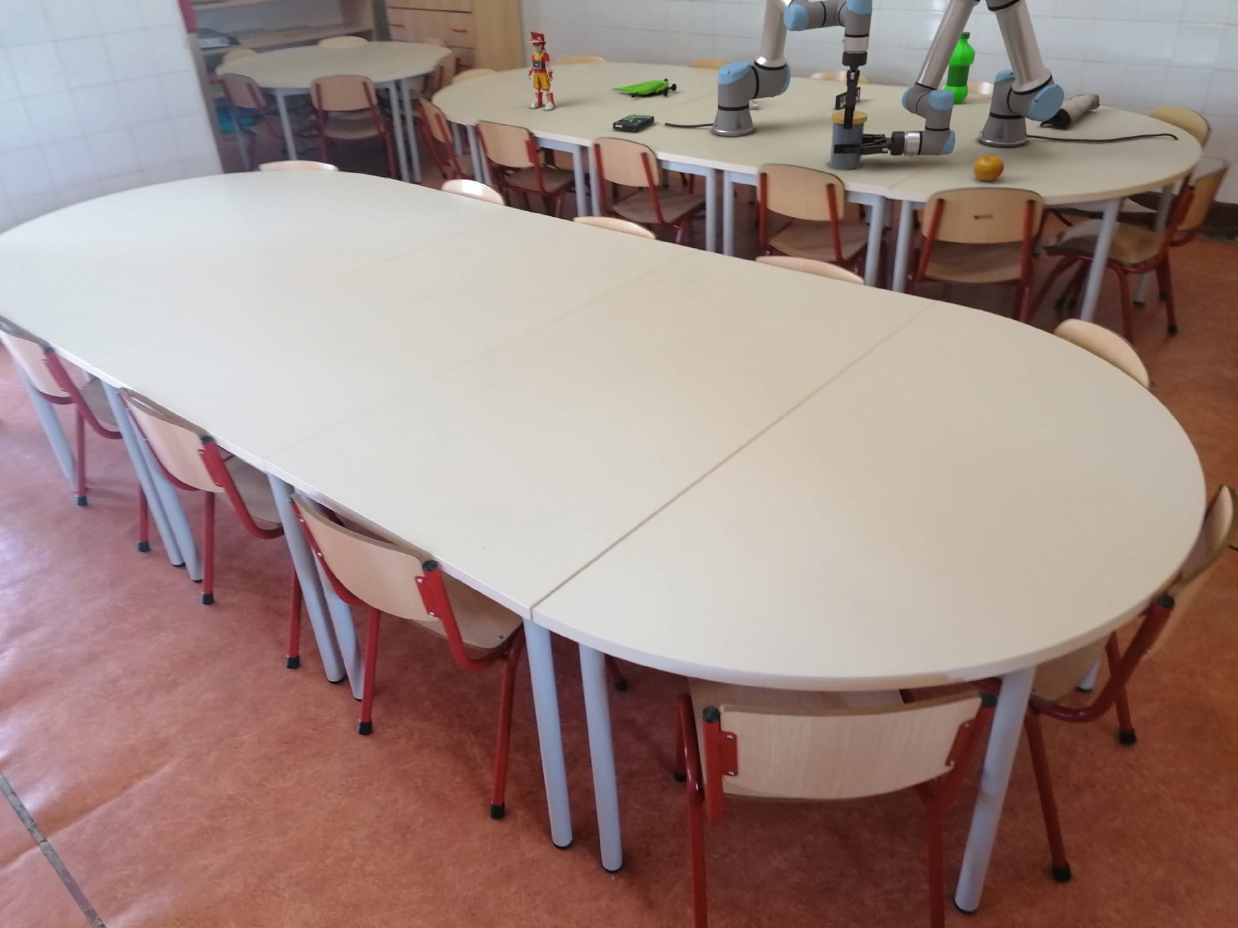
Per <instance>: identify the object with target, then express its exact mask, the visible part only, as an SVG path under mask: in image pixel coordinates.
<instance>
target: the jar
mask: <svg viewBox="0 0 1238 928" xmlns="http://www.w3.org/2000/svg"><path fill="white" fill-rule="evenodd" d="M865 123H866V122H864V123H861V124H854V125H852V129H843V125H844V124H837V123H834V122H832V133H831V145H830V157H829V166H830V167H831V168H834V169H837V170H853V169H854V170H855V169H857V168H859V167H861V161H862V155H860V156H858V155H857V154H855V153H835V154H834V144H855V147H856V143H858V144H859V145H861V144H862V142H863V133H865Z"/></svg>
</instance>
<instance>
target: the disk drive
mask: <svg viewBox="0 0 1238 928" xmlns="http://www.w3.org/2000/svg"><path fill="white" fill-rule="evenodd" d="M654 123H655V116H654V115H647V114H646V115H645V114H629V115H627V116H625V117H623V118H621V119H618V120H617V121H614V122H612V130H616V131H623V132H633V133H635V132H637V131H640V130H643V129H645V128H646V127H649V126H650V125H651V126H652V125H653V124H654Z"/></svg>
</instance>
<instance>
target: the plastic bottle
mask: <svg viewBox="0 0 1238 928" xmlns="http://www.w3.org/2000/svg"><path fill="white" fill-rule="evenodd" d="M970 36H971V32H970V31H963V33H962V35H961V37H960V39H959V42H958V44H957V46H956V48H955V51H954V53H953V55H952V57H951V60H950V62H949V64H948V69H947V70H948V71H947V76H946V77H947V78H946V84H945V85H944V87H943V89H942V90H949V91H952V92H953V94H954V100H953V104H960V103H961V102H963V101H964V100H966V98H967V96H968V95H969V85H968V79H969V73H970V67H971V65H972V64H973V63H974V61H975V57H976V51H975V49H974V47H972V45H971V44H970V43H969V42H968V41H969V39H970V38H971V37H970Z"/></svg>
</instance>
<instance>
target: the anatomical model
mask: <svg viewBox="0 0 1238 928" xmlns="http://www.w3.org/2000/svg"><path fill="white" fill-rule="evenodd" d="M754 101H755V99H753V100H749V109H758V108H759V107H760V105H759V104H758V103H754Z"/></svg>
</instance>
